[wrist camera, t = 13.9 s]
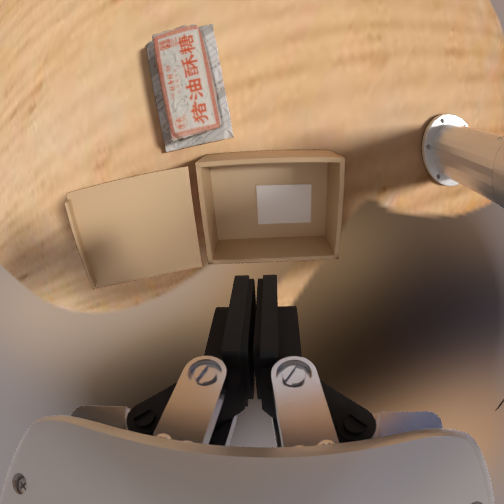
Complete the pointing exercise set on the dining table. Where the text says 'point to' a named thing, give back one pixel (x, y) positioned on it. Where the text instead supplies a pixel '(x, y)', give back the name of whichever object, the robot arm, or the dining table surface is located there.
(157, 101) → the packaged product
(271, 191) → the mailer box
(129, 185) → the lid
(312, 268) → the dining table surface
